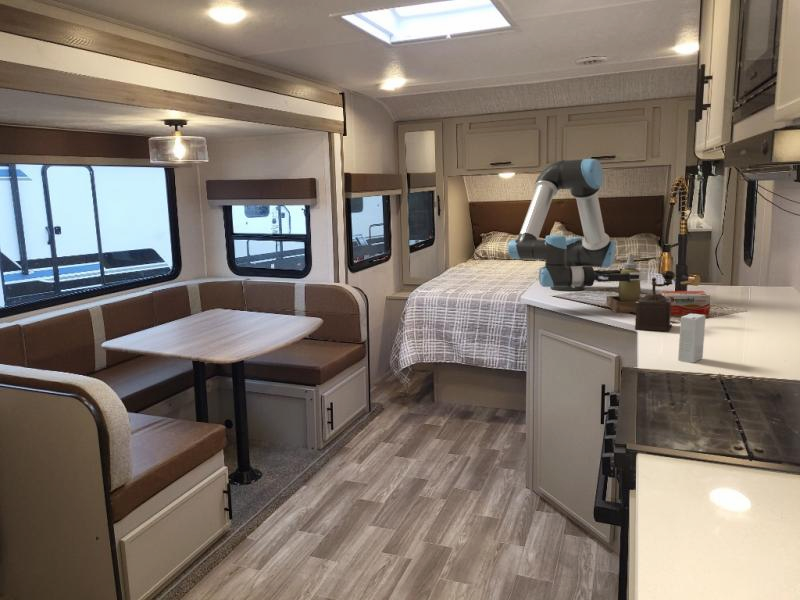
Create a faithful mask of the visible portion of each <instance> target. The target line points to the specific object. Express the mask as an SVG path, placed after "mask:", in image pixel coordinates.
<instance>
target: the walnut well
mask: <svg viewBox="0 0 800 600" xmlns="http://www.w3.org/2000/svg"><path fill="white" fill-rule="evenodd" d="M639 297H644V295H642V294H640V296H639ZM605 301H606V305H607V306H609V307H610V308H611V309H612V310H611V309H610V308H609V309H610V310H611V311H613V312H615V313H616V314H628V313H629V314H631V313H630V312H634V313H636V301H627V302H622V301H621V300H620V297H619V295H606V300H605ZM606 305H605V306H606ZM607 306H606V307H607Z"/></svg>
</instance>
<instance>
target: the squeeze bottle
mask: <svg viewBox="0 0 800 600" xmlns="http://www.w3.org/2000/svg"><path fill="white" fill-rule="evenodd" d="M637 268H638V264H637V263H635V262H634V256H633V253H628V256H627V260H626V262H624V263H623V268H621V269H622V270H621V273H626V274H628V273H639V270H640V269H637ZM617 292H618V293H617V294H618V296H619V297H620V300H621V301H622V302H627V301H637V300H638V298H639V296H640V295H641V292H642V290H641V280H630V282H628V281H618V289H617Z"/></svg>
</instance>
